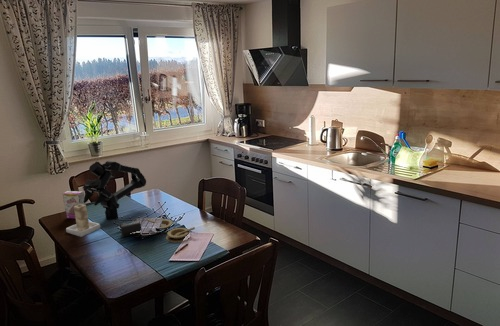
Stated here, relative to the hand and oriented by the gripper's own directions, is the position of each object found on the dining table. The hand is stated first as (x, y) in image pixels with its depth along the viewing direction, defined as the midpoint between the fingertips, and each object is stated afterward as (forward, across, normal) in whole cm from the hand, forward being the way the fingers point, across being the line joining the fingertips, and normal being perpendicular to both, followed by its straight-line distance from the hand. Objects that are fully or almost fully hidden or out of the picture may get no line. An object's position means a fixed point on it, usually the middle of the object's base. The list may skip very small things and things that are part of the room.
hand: (89, 204), depth 214 cm
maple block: (+14, 0, +5) cm, 14 cm away
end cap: (+8, +29, +12) cm, 32 cm away
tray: (+14, 0, +5) cm, 15 cm away
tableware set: (0, +46, +21) cm, 51 cm away
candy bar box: (+7, -20, +13) cm, 25 cm away
